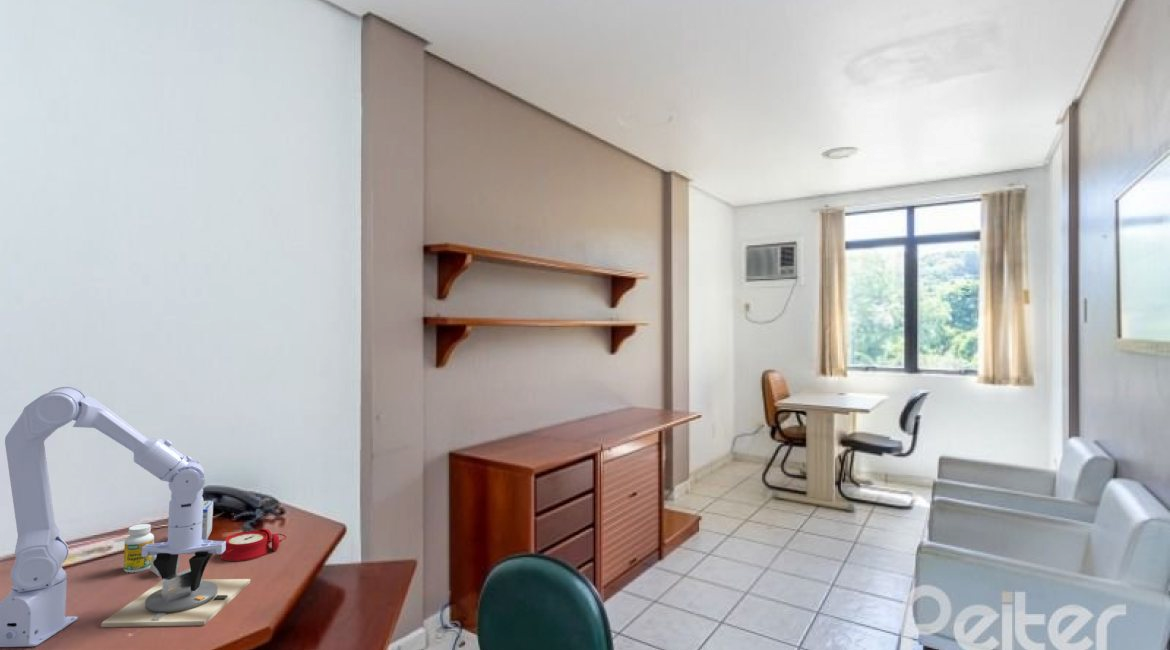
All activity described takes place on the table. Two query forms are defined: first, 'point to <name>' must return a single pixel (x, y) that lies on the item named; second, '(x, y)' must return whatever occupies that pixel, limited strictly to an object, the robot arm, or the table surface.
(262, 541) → the alarm clock
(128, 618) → the plate
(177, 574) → the twist dial
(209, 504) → the medicine box
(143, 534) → the supplement bottle
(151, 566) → the usb wall charger
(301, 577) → the table surface
